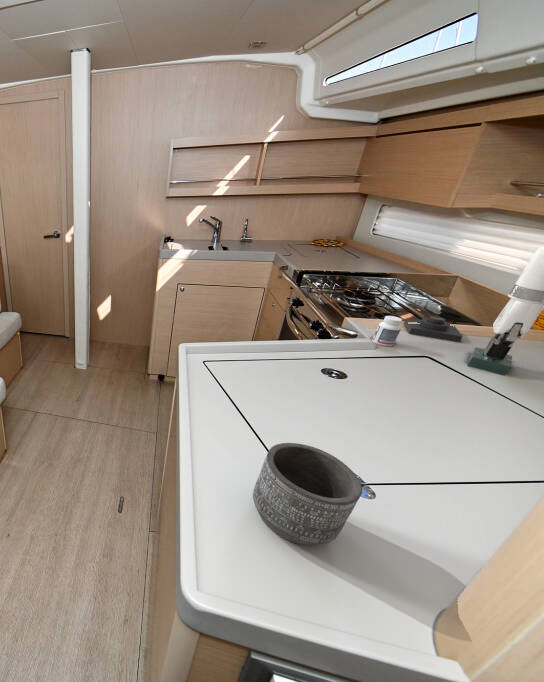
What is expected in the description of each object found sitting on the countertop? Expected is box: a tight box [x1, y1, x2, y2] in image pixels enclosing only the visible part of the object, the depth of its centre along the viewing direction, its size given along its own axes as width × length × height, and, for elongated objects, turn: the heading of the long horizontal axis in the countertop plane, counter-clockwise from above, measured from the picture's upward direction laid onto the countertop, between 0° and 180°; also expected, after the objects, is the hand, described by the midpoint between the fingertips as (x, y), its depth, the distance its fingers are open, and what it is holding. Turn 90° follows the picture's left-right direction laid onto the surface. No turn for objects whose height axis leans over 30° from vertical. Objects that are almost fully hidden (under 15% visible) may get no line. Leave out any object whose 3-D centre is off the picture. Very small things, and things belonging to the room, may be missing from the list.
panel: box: [466, 346, 517, 376], centre depth 101 cm, size 9×8×3 cm
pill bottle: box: [371, 315, 403, 347], centre depth 114 cm, size 5×5×9 cm
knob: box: [482, 335, 516, 360], centre depth 99 cm, size 4×4×6 cm
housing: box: [403, 317, 464, 343], centre depth 120 cm, size 12×10×4 cm
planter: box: [252, 442, 363, 546], centre depth 58 cm, size 12×12×13 cm
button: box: [428, 315, 446, 325], centre depth 119 cm, size 4×4×2 cm
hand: (494, 353), depth 100 cm, fingers closed on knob, 4 cm apart
